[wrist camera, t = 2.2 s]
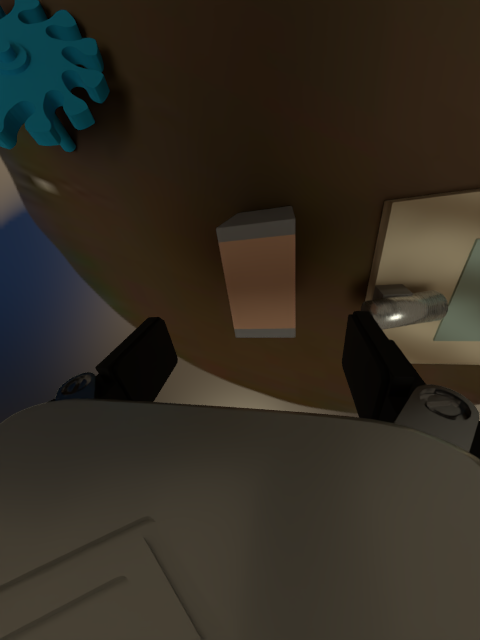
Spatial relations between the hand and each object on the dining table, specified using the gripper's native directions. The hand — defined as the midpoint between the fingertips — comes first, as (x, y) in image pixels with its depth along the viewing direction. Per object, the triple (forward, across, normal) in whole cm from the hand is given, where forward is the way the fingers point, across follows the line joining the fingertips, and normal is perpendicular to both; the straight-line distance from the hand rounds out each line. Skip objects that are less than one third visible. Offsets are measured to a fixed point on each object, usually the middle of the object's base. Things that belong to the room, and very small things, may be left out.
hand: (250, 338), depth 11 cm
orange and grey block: (+11, 0, -1) cm, 11 cm away
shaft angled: (+10, -11, +3) cm, 15 cm away
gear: (+11, +14, -15) cm, 23 cm away
